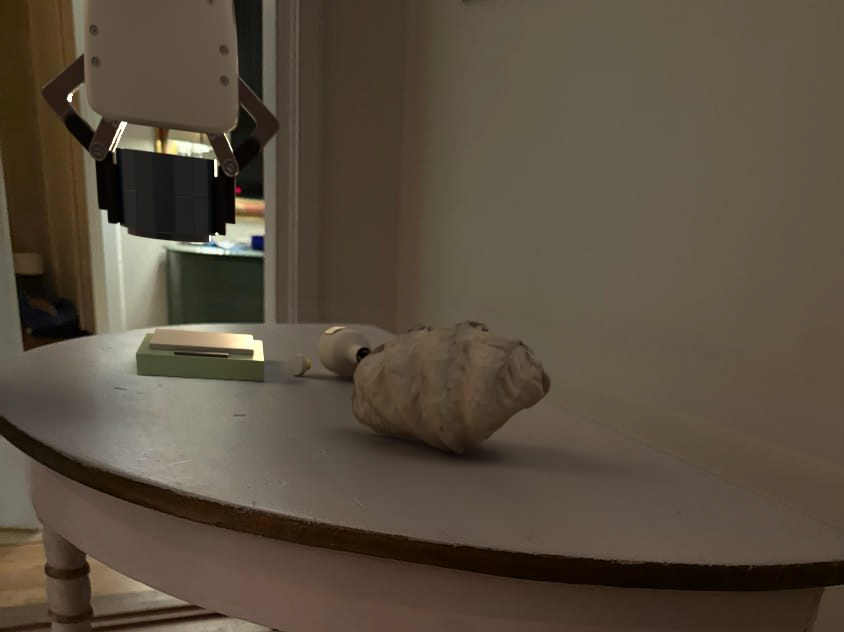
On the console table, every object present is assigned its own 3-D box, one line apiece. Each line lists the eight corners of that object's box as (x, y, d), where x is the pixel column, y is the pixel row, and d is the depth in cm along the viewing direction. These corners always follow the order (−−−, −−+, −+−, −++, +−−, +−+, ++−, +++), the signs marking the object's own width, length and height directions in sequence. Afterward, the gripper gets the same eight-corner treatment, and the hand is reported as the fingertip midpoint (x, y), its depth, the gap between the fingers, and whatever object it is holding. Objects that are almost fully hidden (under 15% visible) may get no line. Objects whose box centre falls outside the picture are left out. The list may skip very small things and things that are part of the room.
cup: (115, 235, 64) (110, 146, 62) (126, 229, 70) (122, 147, 68) (215, 246, 66) (213, 159, 64) (218, 239, 72) (216, 159, 69)
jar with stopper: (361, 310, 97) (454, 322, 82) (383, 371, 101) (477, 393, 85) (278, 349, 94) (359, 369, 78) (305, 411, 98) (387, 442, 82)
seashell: (469, 478, 68) (482, 339, 63) (337, 431, 76) (341, 306, 71) (551, 459, 75) (569, 333, 70) (423, 418, 83) (431, 304, 79)
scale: (137, 374, 88) (135, 346, 87) (147, 352, 98) (146, 327, 97) (264, 381, 91) (264, 354, 90) (261, 359, 101) (261, 334, 100)
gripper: (290, -31, 65) (286, 237, 73) (27, -78, 61) (52, 212, 69) (294, -52, 59) (289, 245, 67) (1, -106, 55) (32, 218, 62)
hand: (169, 226), depth 68 cm, fingers closed on cup, 6 cm apart
